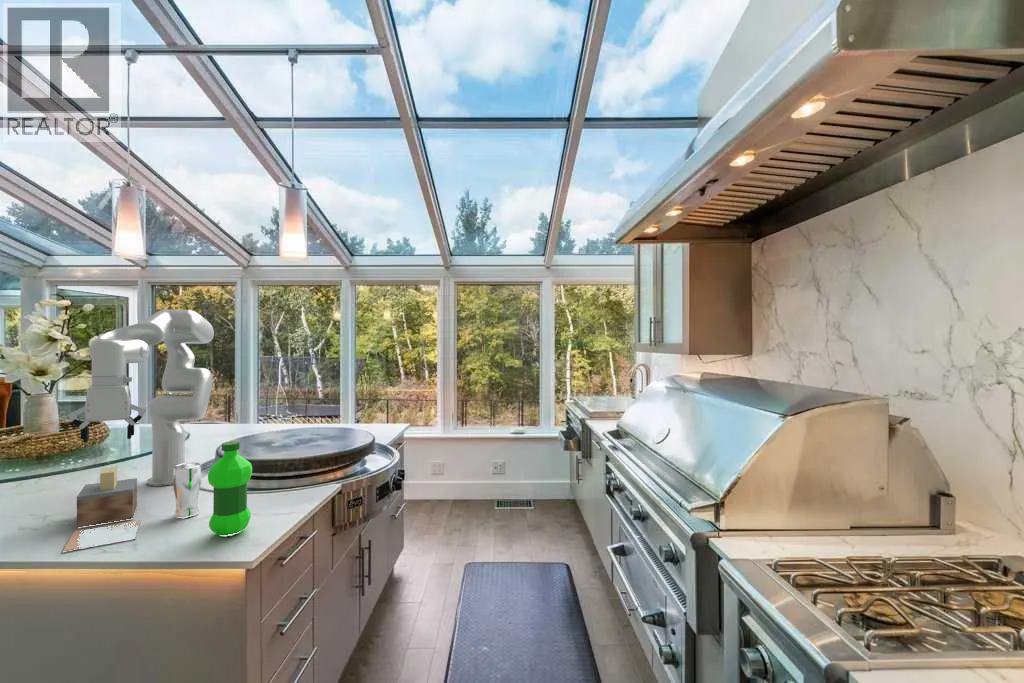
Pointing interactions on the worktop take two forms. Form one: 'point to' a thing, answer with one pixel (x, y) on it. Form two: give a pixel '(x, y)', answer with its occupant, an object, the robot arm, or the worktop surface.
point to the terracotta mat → (73, 540)
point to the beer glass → (186, 488)
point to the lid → (107, 486)
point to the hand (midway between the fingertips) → (108, 439)
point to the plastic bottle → (230, 491)
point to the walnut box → (106, 509)
